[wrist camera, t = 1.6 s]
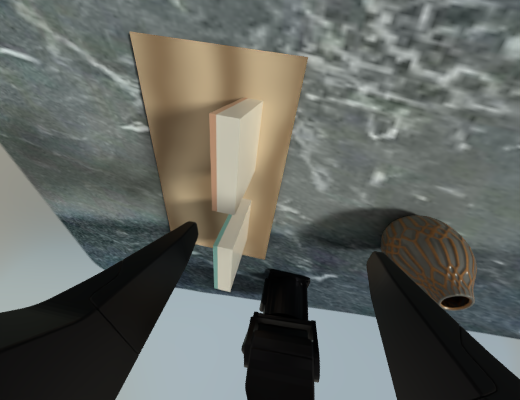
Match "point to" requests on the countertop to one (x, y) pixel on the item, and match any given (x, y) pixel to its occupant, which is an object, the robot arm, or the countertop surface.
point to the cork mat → (198, 127)
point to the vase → (433, 259)
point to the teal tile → (230, 246)
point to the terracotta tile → (233, 151)
